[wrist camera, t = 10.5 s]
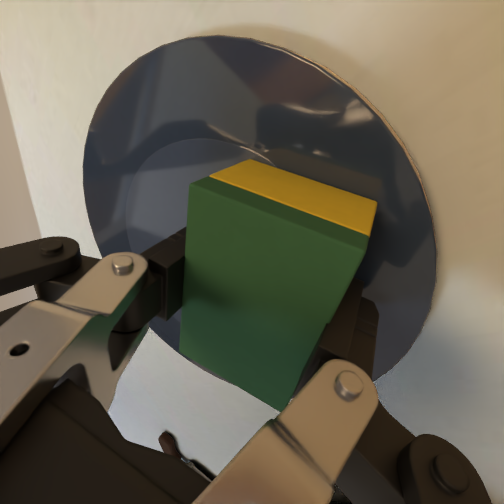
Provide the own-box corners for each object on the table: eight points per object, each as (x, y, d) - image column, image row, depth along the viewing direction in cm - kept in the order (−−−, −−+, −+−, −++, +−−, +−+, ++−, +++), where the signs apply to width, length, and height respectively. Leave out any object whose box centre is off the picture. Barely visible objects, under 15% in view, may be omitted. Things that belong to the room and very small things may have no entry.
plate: (117, 301, 21) (102, 312, 20) (78, 6, 11) (46, -3, 10) (335, 426, 16) (331, 447, 15) (579, 106, 7) (610, 108, 6)
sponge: (223, 300, 14) (177, 352, 11) (249, 157, 10) (187, 182, 7) (309, 343, 12) (283, 414, 10) (378, 200, 8) (366, 252, 6)
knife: (157, 440, 31) (152, 446, 30) (164, 429, 28) (159, 436, 28) (259, 527, 29) (257, 535, 28) (277, 524, 26) (274, 533, 26)
